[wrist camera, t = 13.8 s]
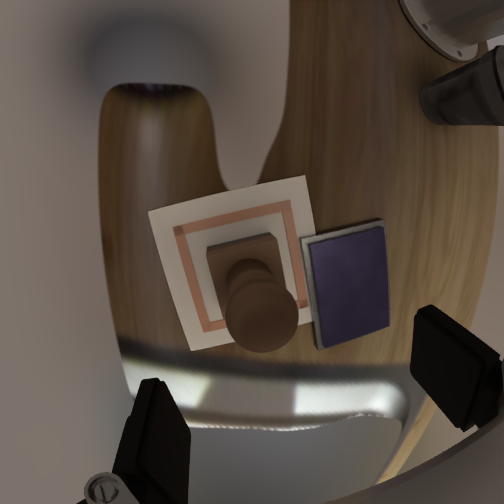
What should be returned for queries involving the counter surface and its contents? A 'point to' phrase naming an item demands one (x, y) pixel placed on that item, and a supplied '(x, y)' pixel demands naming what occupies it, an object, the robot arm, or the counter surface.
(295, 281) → the print card
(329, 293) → the ink pad
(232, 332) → the stamp
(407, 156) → the counter surface
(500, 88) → the beverage cup
